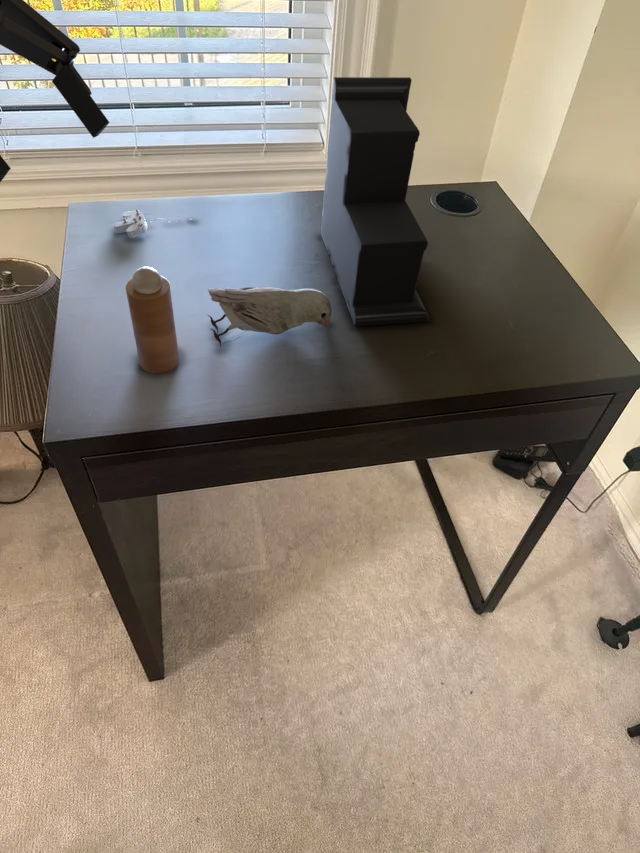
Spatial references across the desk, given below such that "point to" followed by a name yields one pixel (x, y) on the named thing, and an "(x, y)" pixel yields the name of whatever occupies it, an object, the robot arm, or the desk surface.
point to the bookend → (373, 201)
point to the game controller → (132, 224)
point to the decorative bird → (270, 308)
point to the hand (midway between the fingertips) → (55, 152)
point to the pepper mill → (153, 320)
